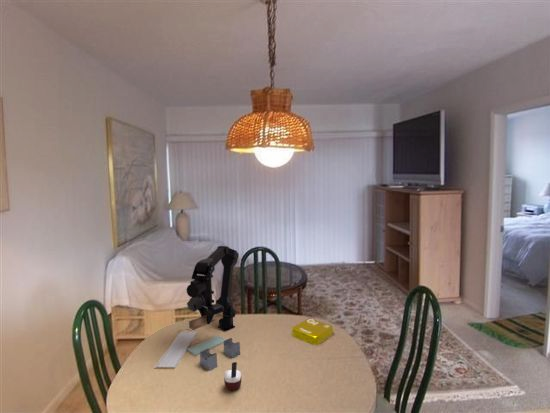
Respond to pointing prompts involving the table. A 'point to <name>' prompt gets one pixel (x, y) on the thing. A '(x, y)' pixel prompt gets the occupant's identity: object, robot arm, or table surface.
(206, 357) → the grey notched block
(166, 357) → the baseboard
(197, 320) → the rail
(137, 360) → the table surface
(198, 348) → the mat
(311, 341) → the element tile
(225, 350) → the grey block
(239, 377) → the cupcake
